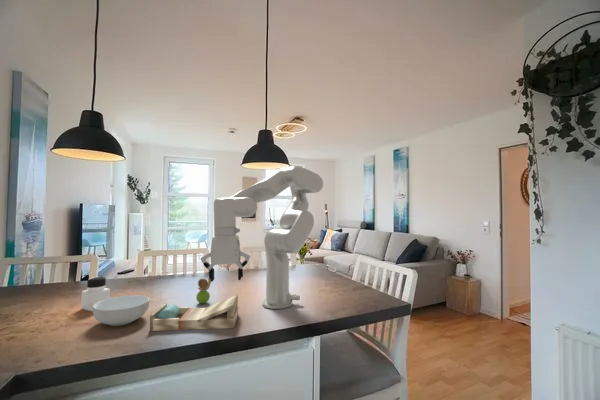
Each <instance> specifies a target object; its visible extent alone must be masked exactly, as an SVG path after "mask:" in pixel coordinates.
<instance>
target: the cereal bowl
mask: <svg viewBox="0 0 600 400" xmlns="http://www.w3.org/2000/svg"><path fill="white" fill-rule="evenodd" d="M150 301H151V299H150V298H149V297H148V296H146V295H140V294H129V295H127V294H125V295H120V296H119V295H118V296H114V297H110V298H108V299H105V300H102V301H99V302H97V303H96V304H94V306H93V311H92V314H93V317H94V319H95V320H96V321H97V322H98V323H101V324H104V325H107V326H112V327H116V326H117V327H121V326H125V325H129V324H131V323H133V322H135V321H136V320H138V319H139V318H141V317H143V316H144V315H145V314H146V313H147V311H148V310H149V306H150V303H151V302H150Z"/></svg>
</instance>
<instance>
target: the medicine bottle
mask: <svg viewBox="0 0 600 400" xmlns="http://www.w3.org/2000/svg"><path fill="white" fill-rule="evenodd" d="M106 282H107V278H106V277H104V276H94V277H91V278H89V279H87V285H86V286H87V288H86V289H85V290H82V291H81V299H80V301H81V303H80V305H81V306H80V310H83V309H84V311H88V312H92V313H93V306H94V304H96V303H97V302H99V301H102V300H105V299H108V298H111V291H112V290H111V289H110V288H107V287H106V285H107V284H106Z"/></svg>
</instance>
